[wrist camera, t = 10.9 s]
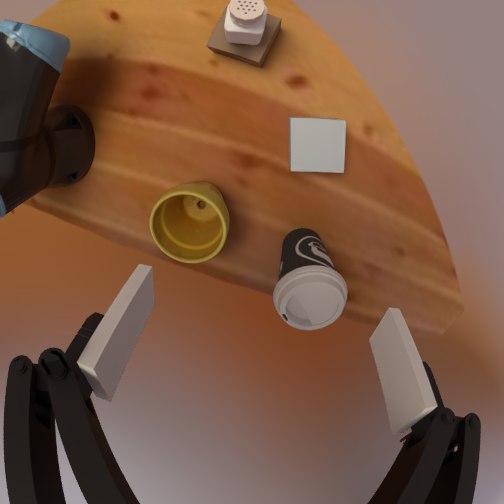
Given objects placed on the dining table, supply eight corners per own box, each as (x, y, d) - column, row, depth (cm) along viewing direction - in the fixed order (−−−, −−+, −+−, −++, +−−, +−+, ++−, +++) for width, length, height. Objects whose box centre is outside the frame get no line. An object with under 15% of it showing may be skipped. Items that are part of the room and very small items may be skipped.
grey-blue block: (288, 163, 38) (290, 171, 33) (288, 116, 34) (290, 117, 30) (335, 164, 37) (343, 172, 33) (336, 118, 34) (345, 120, 29)
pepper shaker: (259, 46, 25) (266, 26, 17) (225, 43, 25) (221, 21, 17) (263, 20, 23) (272, -8, 15) (230, 16, 23) (227, -12, 15)
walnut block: (214, 52, 30) (206, 45, 25) (233, 13, 26) (228, 2, 22) (260, 67, 31) (258, 62, 26) (280, 29, 27) (281, 18, 23)
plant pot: (225, 239, 45) (215, 274, 36) (167, 220, 44) (144, 250, 35) (244, 182, 39) (237, 205, 31) (179, 162, 38) (155, 180, 30)
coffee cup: (271, 221, 42) (270, 278, 30) (331, 218, 41) (355, 273, 29) (274, 271, 47) (274, 336, 34) (329, 268, 46) (345, 331, 33)
